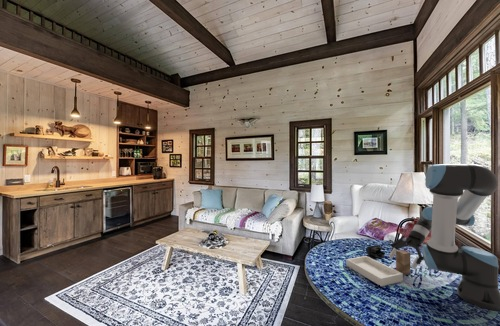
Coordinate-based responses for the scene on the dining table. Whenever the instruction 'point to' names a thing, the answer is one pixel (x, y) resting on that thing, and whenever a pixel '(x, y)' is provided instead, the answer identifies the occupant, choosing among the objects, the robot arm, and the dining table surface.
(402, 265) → the walnut block
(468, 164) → the robot arm
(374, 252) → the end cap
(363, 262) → the sorting tray
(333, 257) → the dining table surface
